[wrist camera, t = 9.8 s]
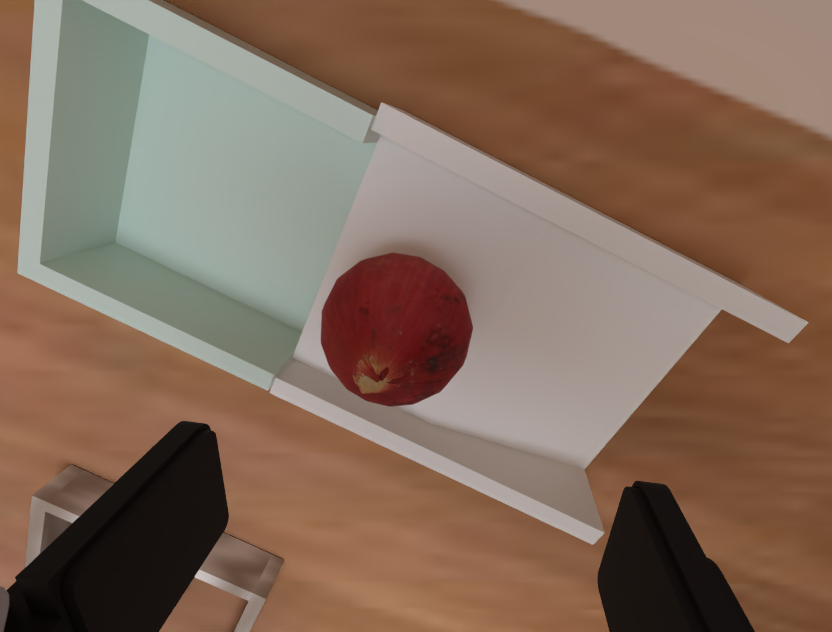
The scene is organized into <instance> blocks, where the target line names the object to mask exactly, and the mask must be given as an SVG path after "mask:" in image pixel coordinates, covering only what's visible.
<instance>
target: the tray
mask: <svg viewBox="0 0 832 632" xmlns="http://www.w3.org/2000/svg"><path fill="white" fill-rule="evenodd" d="M377 112H378V110H376V109H374V108H372V107H370V106H368V105H366V104H364V103H363V102H361V101H359V100H357V99H355V98H353V97H351V96H349V95H347V94H345V93H343V92H341V91H339V90H337V89H335V88H333V87H331V86H329V85H328V84H326V83H324V82H322V81H320V80H318V79H316V78H314V77H312V76H310V75H308V74H306V73H304V72H302V71H300V70H298V69H296V68H294V67H293V66H291V65H289V64H287V63H285V62H283V61H281V60H279V59H277V58H275V57H273V56H271V55H269V54H267V53H265V52H263V51H261V50H259V49H258V48H256V47H254V46H252V45H250V44H248V43H246V42H244V41H242V40H240V39H238V38H236V37H234V36H232V35H230V34H228V33H226V32H224V31H223V30H221V29H219V28H217V27H215V26H213V25H211V24H209V23H207V22H205V21H203V20H201V19H199V18H197V17H195V16H193V15H191V14H189V13H188V12H186V11H184V10H182V9H180V8H178V7H176V6H174V5H172V4H170V3H168V2H166V1H164V0H35V5H34V21H33V36H32V52H31V68H30V84H29V99H28V115H27V131H26V147H25V162H24V178H23V194H22V210H21V226H20V241H19V257H18V274H20V275H23V276H25V277H27V278H29V279H31V280H33V281H35V282H37V283H40V284H42V285H44V286H46V287H48V288H50V289H52V290H54V291H57V292H59V293H61V294H63V295H65V296H67V297H69V298H71V299H74V300H76V301H78V302H80V303H82V304H84V305H86V306H88V307H91V308H93V309H95V310H97V311H99V312H101V313H103V314H105V315H108V316H110V317H112V318H114V319H116V320H118V321H120V322H122V323H125V324H127V325H129V326H131V327H133V328H135V329H137V330H140V331H142V332H144V333H146V334H148V335H150V336H152V337H154V338H157V339H159V340H161V341H163V342H165V343H167V344H169V345H171V346H174V347H176V348H178V349H180V350H182V351H184V352H186V353H188V354H191V355H193V356H195V357H197V358H199V359H201V360H203V361H205V362H208V363H210V364H212V365H214V366H216V367H218V368H220V369H222V370H225V371H227V372H229V373H231V374H233V375H235V376H237V377H239V378H242V379H244V380H246V381H248V382H250V383H252V384H254V385H257V386H259V387H261V388H263V389H265V390H267V391H268V390H269V389H270V388H271V386H272V385H273V382H274V380H275V377H276V376H277V375H278V374H279V373H280V371H281V370H282V369H283V368H284V367H285V365H286V364H287V363H288V362H289V361H290V360H291V358H292V356H293V354H294V351H295V349H296V346H297V344H298V341H299V339H300V336H301V334H302V331H303V329H304V326H305V324H306V321H307V319H308V316H309V314H310V311H311V308H312V306H313V303H314V301H315V298H316V296H317V293H318V291H319V288H320V286H321V283H322V281H323V278H324V276H325V273H326V271H327V268H328V266H329V263H330V261H331V258H332V255H333V253H334V250H335V248H336V245H337V243H338V240H339V238H340V235H341V233H342V230H343V228H344V225H345V223H346V220H347V218H348V215H349V213H350V210H351V208H352V205H353V202H354V200H355V197H356V195H357V192H358V190H359V187H360V185H361V182H362V180H363V177H364V175H365V172H366V170H367V167H368V165H369V162H370V160H371V157H372V154H373V152H374V149H375V147H376V144H377V142H378V139H379V137H380V134H378V133H376V132H374V131H372V130H371V128H372V125H373V123H374V120H375V118H376V115H377Z"/></svg>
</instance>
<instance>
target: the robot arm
mask: <svg viewBox="0 0 832 632" xmlns="http://www.w3.org/2000/svg"><path fill="white" fill-rule="evenodd" d="M228 518H229V513H228V507H227V501H226V494H225V488H224V482H223V475H222V469H221V463H220V457H219V450H218V444H217V438H216V434H215V432H214V431H211V429H210V427H209V426H208V424H203V423H196V422H188V421H182V422H180V423H178V424H177V425H176V426H175V427H174V428H172V429H171V430H170V431H169V432H168V433H167V434H166V435H165V436H164V437H163V438H162V439H161V440H160V441H159V442H158V443H157V444H156V445H155V446H153V447H152V448H151V449H150V450H149V451H148V452H147V453H146V454H145V455H144V456H143V457H142V458H141V459H140V460H139V461H138V462H137V463H135V464H134V465H133V466H132V467H131V468H130V469H129V470H128V471H127V472H126V473H125V474H124V475H123V476H122V477H121V478H120V479H119V480H118V481H116V482H115V483H114V484H113V485H112V486H111V487H110V488H109V489H108V490H107V491H106V492H105V493H104V494H103V495H102V496H101V497H100V498H98V499H97V500H96V501H95V502H94V503H93V504H92V505H91V506H90V507H89V508H88V509H87V510H86V511H85V512H84V513H83V514H82V515H81V516H79V517H78V518H77V519H76V520H75V521H74V522H73V523H72V524H71V525H70V526H69V527H68V528H67V529H66V530H65V531H64V532H63V533H62V534H60V535H59V536H58V537H57V538H56V539H55V540H54V541H53V542H52V543H51V544H50V545H49V546H48V547H47V548H46V549H45V550H44V551H42V552H41V553H40V554H39V555H38V556H37V557H36V558H35V559H34V560H33V561H32V562H31V563H30V564H29V565H28V566H27V567H26V568H25V569H23V570H22V571H21V572H20V573H19V574H18V575H17V576H16V577H15V578H16V580H17V581H16V582H15V583H14V584H13V585H12V586H11V587H10V588H9V589H8V590H7V591H6V590H5V589H4V587H0V632H159V630H160V629H161V627H162V626H163V624H164V623H165V621H166V620H167V618H168V617H169V615H170V614H171V612H172V610H173V609H174V607H175V606H176V604H177V603H178V601H179V600H180V598H181V597H182V595H183V594H184V592H185V590H186V589H187V587H188V586H189V584H190V583H191V581H192V580H193V578H194V577H195V575H196V574H197V572H198V570H199V569H200V567H201V566H202V564H203V563H204V561H205V560H206V558H207V557H208V555H209V554H210V552H211V550H212V549H213V547H214V546H215V544H216V543H217V541H218V540H219V538H220V537H221V535H222V534H223V532H224V530H225V528H226V526H227V523H228ZM598 588H599V593H600V597H601V600H602V604H603V608H604V612H605V616H606V619H607V623H608V627H609V631H610V632H755V631H754V629H753V627H752V626H751V624H750V622H749V620H748V619H747V617H746V615H745V613H744V611H743V610H742V608H741V606H740V604H739V602H738V601H737V599H736V597H735V595H734V593H733V592H732V590H731V588H730V586H729V584H728V583H727V581H726V579H725V577H724V575H723V574H722V572H721V570H720V569H719V568H718V566H717V565H716V563H714V562H713V561H712V560H711V559H709V558H706V556H705V554H704V552H703V550H702V548H701V547H700V545H699V543H698V541H697V539H696V537H695V535H694V534H693V532H692V530H691V528H690V526H689V524H688V523H687V521H686V519H685V517H684V515H683V513H682V511H681V510H680V508H679V506H678V504H677V502H676V500H675V498H674V497H673V495H672V493H671V491H670V489H669V488H668V487H667V486H666V485H664V484H658V483H650V482H643V481H635V482H634V483H633V485H632V487H625V488H624V490H623V493H622V497H621V500H620V503H619V506H618V510H617V513H616V516H615V519H614V523H613V526H612V529H611V532H610V536H609V539H608V542H607V545H606V549H605V552H604V555H603V558H602V562H601V565H600V568H599V572H598Z"/></svg>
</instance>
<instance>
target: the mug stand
mask: <svg viewBox="0 0 832 632" xmlns="http://www.w3.org/2000/svg"><path fill="white" fill-rule="evenodd" d="M113 484H114V483H112V482H110V481H107V480H105V479H103V478H101V477H98V476H96V475H94V474H92V473H90V472H87V471H85V470H83V469H81V468H78V467H76V466H74V465H72V464H71V465H70V466H68V467H67V468H66V469H65V470H63V471H62V472H61V473H60V474H58V475H57V476H56V477H55V478H53V479H52V480H51V481H50V482H48V483H47V484H46V485H45V486H43V487H42V488H41V489H40V490H38V491H37V492H36V493H35V494H34V495H32V502H31V512H30V522H29V531H28V541H27V550H26V560H25V568H26V567H27V566H28V565H29V564H30V563H31V562H32V561H33V560H34V559H35V558H36V557H37V556H38V555H39V554H40V553H41V552H42V551H44V550H45V549H46V548H47V547H48V546H49V545H50V544H51V543H52V542H53V541H54V540H55V539H56V538H57V537H58V536H59V535H60V534H62V533H63V532H64V531H65V530H66V529H67V528H68V527H69V526H70V525H71V524H72V523H73V522H74V521H75V520H76V519H77V518H78V517H79V516H81V515H82V514H83V513H84V512H85V511H86V510H87V509H88V508H89V507H90V506H91V505H92V504H93V503H94V502H95V501H96V500H97V499H98V498H100V497H101V496H102V495H103V494H104V493H105V492H106V491H107V490H108V489H109V488H110V487H111V486H112V485H113ZM283 561H284V560H283V559H281V558H279V557H277V556H274V555H272V554H270V553H268V552H266V551H263V550H261V549H259V548H257V547H254V546H252V545H250V544H248V543H245V542H243V541H241V540H239V539H237V538H234V537H232V536H230V535H228V534H225V533H223V534H222V535H221V537H220V538H219V540H218V541H217V543H216V544H215V546H214V547H213V549H212V550H211V552H210V554H209V555H208V557H207V558H206V560H205V561H204V563H203V564H202V566H201V567H200V569H199V570H198V572H197V574H196V575H195V578H197V579H200V580H202V581H204V582H206V583H209V584H211V585H213V586H216V587H218V588H220V589H222V590H225V591H227V592H229V593H231V594H234V595H236V596H238V597H240V598H243V599H245V600H247V601H249V602H248V604H247V606H246V608H245V610H244V612H243V614H242V616H241V618H240V620H239V622H238V624H237V626H236V628H235V631H234V632H249V631H250V629H251V627H252V625H253V623H254V622H255V620H256V618H257V616H258V614H259V612H260V610H261V608H262V606H263V604H264V602H265V600H266V598H267V596H268V594H269V591H270V589H271V587H272V585H273V583H274V581H275V578H276V576H277V574H278V572H279V570H280V568H281V565H282V563H283Z"/></svg>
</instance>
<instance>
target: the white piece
mask: <svg viewBox="0 0 832 632" xmlns="http://www.w3.org/2000/svg"><path fill="white" fill-rule="evenodd" d="M371 130H372V131H374V132H376V133H378V134H380V137H379V139H378V142H377V144H376V147H375V149H374V152H373V154H372V157H371V160H370V162H369V165H368V167H367V170H366V172H365V175H364V177H363V180H362V182H361V185H360V187H359V190H358V192H357V195H356V197H355V200H354V202H353V205H352V208H351V210H350V213H349V215H348V218H347V220H346V223H345V225H344V228H343V230H342V233H341V235H340V238H339V240H338V243H337V245H336V248H335V250H334V253H333V255H332V258H331V261H330V263H329V266H328V268H327V271H326V273H325V276H324V278H323V281H322V283H321V286H320V288H319V291H318V293H317V296H316V298H315V301H314V303H313V306H312V308H311V311H310V314H309V316H308V319H307V321H306V324H305V326H304V329H303V331H302V334H301V336H300V339H299V341H298V344H297V346H296V349H295V351H294V354H293V356H292V358H291V360H290V361H289V362H288V363H287V364H286V365H285V367H284V368H283V369H282V370H281V371H280V373H279V374H278V375H277V376H276V377H275V380H274V382H273V385H272V388H271V390H270V393H271V394H273V395H275V396H277V397H279V398H281V399H283V400H286V401H288V402H290V403H292V404H294V405H296V406H298V407H300V408H303V409H305V410H307V411H309V412H311V413H313V414H315V415H317V416H320V417H322V418H324V419H326V420H328V421H330V422H332V423H334V424H337V425H339V426H341V427H343V428H345V429H347V430H349V431H352V432H354V433H356V434H358V435H360V436H362V437H364V438H366V439H369V440H371V441H373V442H375V443H377V444H379V445H381V446H383V447H386V448H388V449H390V450H392V451H394V452H396V453H398V454H400V455H403V456H405V457H407V458H409V459H411V460H413V461H415V462H417V463H420V464H422V465H424V466H426V467H428V468H430V469H432V470H435V471H437V472H439V473H441V474H443V475H445V476H447V477H449V478H452V479H454V480H456V481H458V482H460V483H462V484H464V485H466V486H469V487H471V488H473V489H475V490H477V491H479V492H481V493H483V494H486V495H488V496H490V497H492V498H494V499H496V500H498V501H500V502H503V503H505V504H507V505H509V506H511V507H513V508H515V509H518V510H520V511H522V512H524V513H526V514H528V515H530V516H532V517H535V518H537V519H539V520H541V521H543V522H545V523H547V524H549V525H552V526H554V527H556V528H558V529H560V530H562V531H564V532H566V533H569V534H571V535H573V536H575V537H577V538H579V539H581V540H583V541H586V542H588V543H590V544H592V545H593V544H594V543H595V542H596V541H597V540H598V539H599V538H600V537H601V536H602V535H603V534H604V533H605V532H604V529H603V526H602V523H601V520H600V516H599V513H598V510H597V507H596V504H595V501H594V498H593V495H592V491H591V488H590V485H589V482H588V479H587V476H586V473H585V468H586V467H587V466H588V465H589V464H590V463H591V461H592V460H593V459H594V458H595V457H596V456H597V454H598V453H599V452H600V451H601V450H602V449H603V447H604V446H605V445H606V444H607V443H608V442H609V440H610V439H611V438H612V437H613V436H614V435H615V433H616V432H617V431H618V430H619V429H620V428H621V426H622V425H623V424H624V423H625V422H626V421H627V419H628V418H629V417H630V416H631V415H632V414H633V412H634V411H635V410H636V409H637V408H638V407H639V405H640V404H641V403H642V402H643V401H644V400H645V398H646V397H647V396H648V395H649V394H650V393H651V391H652V390H653V389H654V388H655V387H656V386H657V384H658V383H659V382H660V381H661V380H662V379H663V377H664V376H665V375H666V374H667V373H668V372H669V370H670V369H671V368H672V367H673V366H674V365H675V363H676V362H677V361H678V360H679V359H680V358H681V356H682V355H683V354H684V353H685V352H686V351H687V349H688V348H689V347H690V346H691V345H692V344H693V342H694V341H695V340H696V339H697V338H698V337H699V335H700V334H701V333H702V332H703V331H704V330H705V328H706V327H707V326H708V325H709V324H710V323H711V321H712V320H713V319H714V318H715V317H716V316H717V314H718V313H719V312H720V311H721V310H722V309H723V310H724V311H726V312H728V313H730V314H732V315H734V316H736V317H738V318H740V319H742V320H744V321H746V322H748V323H750V324H752V325H754V326H756V327H758V328H760V329H762V330H764V331H766V332H768V333H769V334H771V335H773V336H775V337H777V338H779V339H781V340H783V341H785V342H787V343H789V342H790V341H791V340H792V339H793V338H794V337H795V336H796V335H797V334H798V333H799V332H800V331H801V330H802V329H803V328H804V327H805V326H806V325H807V324H808V323H809V322H807V321H805V320H803V319H802V318H800V317H798V316H796V315H795V314H793V313H791V312H789V311H787V310H786V309H784V308H782V307H780V306H779V305H777V304H775V303H773V302H771V301H770V300H768V299H766V298H764V297H762V296H761V295H759V294H757V293H755V292H754V291H752V290H750V289H748V288H746V287H745V286H743V285H741V284H739V283H737V282H735V281H733V280H731V279H729V278H727V277H725V276H724V275H722V274H720V273H718V272H716V271H714V270H712V269H710V268H708V267H706V266H704V265H702V264H700V263H698V262H696V261H694V260H693V259H691V258H689V257H687V256H685V255H683V254H681V253H679V252H677V251H675V250H673V249H671V248H669V247H667V246H665V245H663V244H662V243H660V242H658V241H656V240H654V239H652V238H650V237H648V236H646V235H644V234H642V233H640V232H638V231H636V230H634V229H632V228H631V227H629V226H627V225H625V224H623V223H621V222H619V221H617V220H615V219H613V218H611V217H609V216H607V215H605V214H603V213H601V212H600V211H598V210H596V209H594V208H592V207H590V206H588V205H586V204H584V203H582V202H580V201H578V200H576V199H574V198H572V197H570V196H569V195H567V194H565V193H563V192H561V191H559V190H557V189H555V188H553V187H551V186H549V185H547V184H545V183H543V182H541V181H539V180H538V179H536V178H534V177H532V176H530V175H528V174H526V173H524V172H522V171H520V170H518V169H516V168H514V167H512V166H510V165H508V164H507V163H505V162H503V161H501V160H499V159H497V158H495V157H493V156H491V155H489V154H487V153H485V152H483V151H481V150H479V149H477V148H476V147H474V146H472V145H470V144H468V143H466V142H464V141H462V140H460V139H458V138H456V137H454V136H452V135H450V134H448V133H446V132H445V131H443V130H441V129H439V128H437V127H435V126H433V125H431V124H429V123H427V122H425V121H423V120H421V119H419V118H417V117H415V116H414V115H412V114H410V113H408V112H406V111H404V110H402V109H399V108H396V107H394V106H391V105H388V104H385V103H382V102H381V105H380V107H379V110H378V112H377V115H376V118H375V120H374V123H373V125H372V128H371ZM393 252H394V253H400V254H406V255H412V256H418V257H421V258H423V259H425V260H426V261H428V262H430V263H432V264H433V265H435V266H437V267H439V268H440V269H442V270H444V271H445V272H446V273H447V275H448V276H449V277H450V278H451V279H452V280H453V281H454V283H455V284H456V285H457V286H458V287H459V288H460V289H461V291H462V292H463V293H464V295H465V297H466V301H467V305H468V309H469V313H470V317H471V321H472V325H473V331H472V335H471V340H470V344H469V348H468V353H467V357H466V359H465V362H464V365H463V366H462V367H461V369H460V370H459V371H458V372H457V373H456V375H455V376H454V377H453V378H452V379H451V381H450V382H449V383H448V384H447V385H446V387H445V388H444V389H443V390H442V391H441V392H440V393H437V394H435V395H433V396H431V397H429V398H427V399H424V400H422V401H420V402H418V403H415V404H413V405H403V406H392V407H389V406H385V405H380V404H376V403H372V402H368V401H365V400H364V399H362V398H360V397H359V396H357V395H355V394H354V393H352V392H350V391H349V390H347V389H346V388H345V387H344V385H343V384H342V383H341V382H340V380H339V379H338V378H337V377H336V375H335V374H334V373H333V371H332V370H331V369H330V367H329V365H328V362H327V359H326V356H325V354H324V351H323V348H322V345H321V317H322V309H323V307H324V304H325V302H326V300H327V298H328V296H329V294H330V292H331V290H332V288H333V286H334V284H335V282H336V280H337V278H339V277H340V276H341V275H343V274H344V273H345V272H346V271H348V270H349V269H350V268H352V267H353V266H354V265H356V264H357V263H358V262H360V261H362V260H364V259H367V258H371V257H376V256H380V255H384V254H389V253H393Z"/></svg>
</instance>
